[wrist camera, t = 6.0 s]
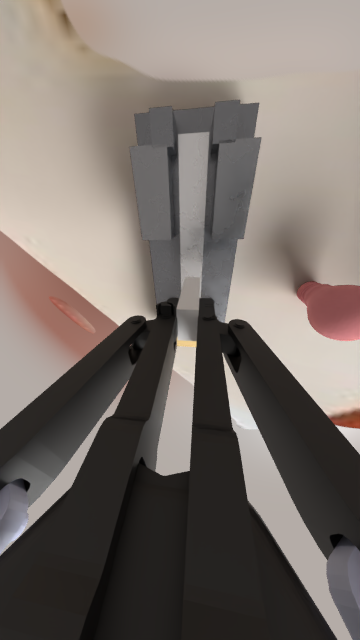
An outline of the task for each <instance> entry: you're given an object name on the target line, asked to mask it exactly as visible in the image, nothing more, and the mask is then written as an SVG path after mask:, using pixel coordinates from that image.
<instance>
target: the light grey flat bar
mask: <svg viewBox="0 0 360 640" xmlns="http://www.w3.org/2000/svg"><path fill="white" fill-rule="evenodd" d="M208 148H209V132H201V133H188V134H178V152H179V204H180V257H181V291H182V287H183V283H184V280H185V277H200V293H199V298H201V282H202V263H203V244H204V225H205V206H206V186H207V167H208Z"/></svg>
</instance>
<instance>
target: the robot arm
mask: <svg viewBox="0 0 360 640" xmlns="http://www.w3.org/2000/svg"><path fill="white" fill-rule="evenodd" d="M199 293H200V277H185V280H184V283H183V287H182V291H181V294H180V298H169V299H168V300H167V301H165V302H160V303H158V304H157V305H156V309H157V318H156V319H154V320H148V321H146V318H145V317H143V316H133V317H130V318H129V319H127V320H126V321H125V322H124V323H123V324H122V325H120V326H119V327H118V328H117V329H116V330H115V331H113V333H111V334H110V335H109V336H108V337H107V338H105V339H104V340H103V341H102V342H101V343H100V344H98V345H97V346H96V347H95V348H94V349H93V350H92V351H90V352H89V353H88V354H87V355H86V356H85V357H83V358H82V359H81V360H80V361H79V362H78V363H76V364H75V365H74V366H73V367H72V368H71V369H70V370H68V371H67V372H66V373H65V374H64V375H63V376H61V377H60V378H59V379H58V380H57V381H56V382H55V383H53V384H52V385H51V386H50V387H49V388H48V389H46V390H45V391H44V392H43V393H42V394H41V395H40V396H38V397H37V398H36V399H35V400H34V401H33V402H32V403H30V404H29V405H28V406H27V407H26V408H24V409H23V410H22V411H21V412H20V413H19V414H18V415H16V416H15V417H14V418H13V419H12V420H11V421H9V422H8V423H7V424H6V425H5V426H4V427H3V428H1V429H0V554H1V553H2V551H3V550H4V549H5V547H6V546H7V545H8V544H9V543H10V542H12V541H14V540H15V539H16V538H17V537H18V536H19V535H20V534H21V533H22V532H23V530H24V528H25V527H26V525H27V522H28V513H27V510H28V507H29V506H30V505H32V503H34V502H35V501H36V499H37V498H39V497H40V495H41V494H42V493H43V492H44V491H45V490H46V488H48V486H49V485H50V484H51V483H52V482H53V481H54V480H55V478H56V477H57V476H58V475H59V473H60V472H61V471H62V470H63V468H64V467H65V466H66V464H67V463H68V462H69V460H70V459H71V458H72V456H73V455H74V454H75V452H76V451H77V449H78V448H79V447H80V445H81V444H82V443H83V441H84V440H85V438H86V437H87V436H88V434H89V433H90V432H91V430H92V429H93V428H94V426H95V425H96V424H97V422H98V421H99V419H100V418H101V417H102V415H103V414H104V413H105V411H106V410H107V408H108V407H109V406H110V404H111V403H112V402H113V400H114V399H115V398H116V396H117V395H118V393H119V392H120V391H121V389H122V388H123V387H124V385H125V384H126V383H127V381H128V380H129V382H128V384H127V386H126V388H125V391H124V393H123V395H122V397H121V400H120V402H119V405H118V406H117V409H116V411H115V413H114V414H113V415H112V416H110V417H108V418H106V419H105V420H104V422H103V423H102V425H101V426H100V428H99V430H98V433H97V434H96V437H95V439H94V441H93V443H92V445H91V447H90V449H89V451H88V453H87V456H86V457H85V460H84V462H83V464H82V466H81V468H80V470H79V472H78V474H77V477H76V479H75V480H74V483H73V485H72V487H71V488H70V489H69V490H68V491H67V492H66V493H65V494H64V495H63V496H62V497H61V498H60V499H58V500H57V501H56V502H55V503H54V504H53V505H52V506H51V507H50V508H49V509H48V510H47V511H46V512H45V513H44V514H43V515H42V516H41V517H40V518H39V519H38V520H37V521H36V522H35V523H34V524H33V525H32V526H31V527H30V528H29V529H27V530H26V531H25V532H24V533H23V534H22V535H21V536H20V537H19V538H18V539H17V540H16V541H15V542H14V543H13V544H12V545H11V546H10V547H9V548H8V549H7V550H6V551H5V552H4V553H3V554H2V555H1V556H0V640H337V638H336V637H335V635H334V634H333V632H332V631H331V629H330V627H329V625H328V624H327V622H326V621H325V619H324V618H323V616H322V614H321V613H320V611H319V609H318V608H317V606H316V605H315V603H314V601H313V600H312V598H311V597H310V595H309V593H308V592H307V590H306V589H305V587H304V585H303V584H302V582H301V581H300V579H299V577H298V576H297V574H296V573H295V571H294V569H293V568H292V566H291V565H290V563H289V561H288V560H287V558H286V557H285V555H284V553H283V552H282V550H281V548H280V547H279V545H278V544H277V542H276V540H275V539H274V537H273V536H272V534H271V532H270V531H269V529H268V528H267V526H266V524H265V523H264V521H263V520H262V518H261V517H260V515H259V514H258V513H257V511H256V510H255V509H254V507H253V506H252V505H251V504H250V503H249V501H248V500H247V494H246V487H245V481H244V474H243V468H242V461H241V455H240V449H239V443H238V438H237V435H236V433H235V431H234V430H233V428H232V423H231V415H230V407H229V400H228V393H227V385H226V378H225V371H224V363H223V356H222V353H223V354H224V357H225V359H226V361H227V363H228V365H229V368H230V370H231V372H232V374H233V376H234V378H235V380H236V382H237V384H238V387H239V389H240V391H241V393H242V395H243V397H244V399H245V401H246V403H247V405H248V408H249V410H250V412H251V414H252V416H253V418H254V420H255V422H256V424H257V426H258V429H259V430H260V433H261V435H262V437H263V439H264V441H265V443H266V445H267V448H268V450H269V452H270V454H271V456H272V458H273V460H274V462H275V464H276V466H277V469H278V471H279V473H280V475H281V477H282V479H283V481H284V483H285V485H286V488H287V490H288V492H289V494H290V496H291V498H292V500H293V502H294V504H295V506H296V508H297V510H298V512H299V513H300V515H301V517H302V519H303V521H304V523H305V525H306V527H307V528H308V530H309V531H310V533H311V535H312V537H313V538H314V540H315V542H316V543H317V545H318V547H319V548H320V550H321V551H322V553H323V554H324V556H325V557H326V559H327V560H328V561H327V579H328V583H329V591H330V593H331V596H332V598H333V601H334V603H335V605H336V607H337V609H338V611H339V613H340V615H341V616H342V619H343V621H344V623H345V625H346V627H347V629H348V631H349V633H350V635H351V637H352V639H353V640H360V454H359V453H358V452H357V451H356V450H355V448H354V447H353V446H352V445H351V444H350V443H349V441H348V440H347V439H346V438H345V437H344V436H343V434H342V433H341V432H340V431H339V430H338V428H337V427H336V426H335V425H334V424H333V422H332V421H331V420H330V419H329V418H328V417H327V415H326V414H325V413H324V412H323V411H322V409H321V408H320V407H319V406H318V405H317V404H316V402H315V401H314V400H313V399H312V398H311V396H310V395H309V394H308V393H307V392H306V391H305V389H304V388H303V387H302V386H301V385H300V383H299V382H298V381H297V380H296V379H295V378H294V376H293V375H292V374H291V373H290V372H289V370H288V369H287V368H286V367H285V366H284V365H283V363H282V362H281V361H280V360H279V359H278V357H277V356H276V355H275V354H274V353H273V351H272V350H271V349H270V348H269V347H268V346H267V344H266V343H265V342H264V341H263V340H262V338H261V337H260V336H259V335H258V334H257V333H256V331H255V330H254V329H253V328H252V327H251V325H250V324H249V323H247V322H246V321H243V320H239V319H235V320H231V321H230V322H229V324H227V323H223V322H221V321H219V320H218V319H217V316H215V308H214V301H213V300H212V299H211V298H199ZM177 336H178V340H183V341H197V343H196V363H195V383H194V402H193V403H194V404H193V422H192V440H191V459H190V471H187V472H182V473H177V474H172V475H168V476H162V475H160V474H158V473H156V472H155V469H156V461H157V447H158V441H159V436H160V431H161V426H162V421H163V416H164V410H165V405H166V400H167V395H168V389H169V384H170V379H171V373H172V368H173V363H174V358H175V353H176V347H177ZM131 344H132V345H131ZM130 345H131V346H130ZM129 378H130V379H129Z"/></svg>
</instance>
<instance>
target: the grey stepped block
mask: <svg viewBox="0 0 360 640" xmlns="http://www.w3.org/2000/svg"><path fill="white" fill-rule="evenodd" d="M258 108H259V103H250V104H240V100H232V101H221V102H215V107H206V108H195V109H184V110H173V108H172V106H167V107H157V108H149V113H139V114H134V116H135V124H136V133H137V141H138V146H131V147H130V154H131V162H132V169H133V176H134V183H135V191H136V198H137V205H138V212H139V219H140V227H141V234H142V240H149V244H150V252H151V261H152V269H153V278H154V286H155V295H156V303H157V304H158V303H160V302H165V301H167V300H168V299H169V298H180V294H181V257H180V204H179V152H178V134H188V133H201V132H209V148H208V167H207V186H206V206H205V225H204V244H203V263H202V282H201V298H211V299H212V300H213V301H214V308H215V316H217V319H218V320H219V321H221V322H223V323H224V322H225V316H226V310H227V303H228V297H229V291H230V285H231V278H232V272H233V266H234V259H235V253H236V247H237V240H238V239H244V233H245V227H246V222H247V216H248V210H249V205H250V199H251V193H252V188H253V182H254V176H255V171H256V165H257V159H258V154H259V148H260V142H261V137H259V138H254V133H255V127H256V121H257V114H258Z"/></svg>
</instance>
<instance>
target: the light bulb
mask: <svg viewBox="0 0 360 640" xmlns="http://www.w3.org/2000/svg"><path fill="white" fill-rule="evenodd" d="M297 296H298V298H299V299H300V300H301V301H302V302H303V303H305V305H306V306H307V314H308V320H309V322H310V324H311V326H312V327H313V328H314V329H315V330H316V331H317V332H318V333H320V334H321V335H323V336H325V337H328V338H331V339H334V340H340V341H352V340H358V339H360V286H355V285H338V286H331V285H328V284H320V283H317V282H315V281H310V282H306V283H304V284H303V285H301V286H300V287H299V289H298V291H297Z"/></svg>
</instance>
